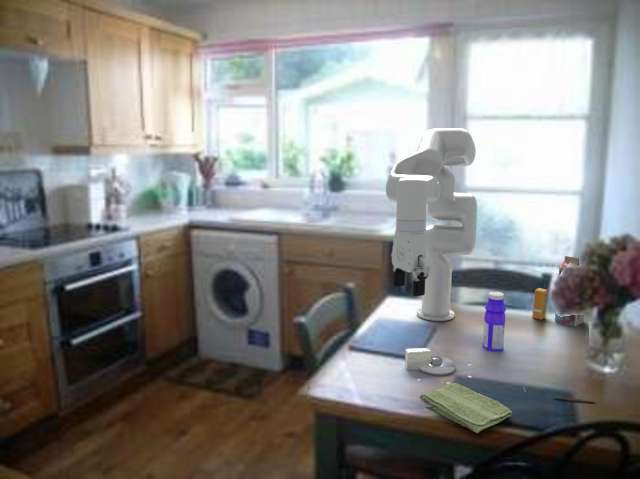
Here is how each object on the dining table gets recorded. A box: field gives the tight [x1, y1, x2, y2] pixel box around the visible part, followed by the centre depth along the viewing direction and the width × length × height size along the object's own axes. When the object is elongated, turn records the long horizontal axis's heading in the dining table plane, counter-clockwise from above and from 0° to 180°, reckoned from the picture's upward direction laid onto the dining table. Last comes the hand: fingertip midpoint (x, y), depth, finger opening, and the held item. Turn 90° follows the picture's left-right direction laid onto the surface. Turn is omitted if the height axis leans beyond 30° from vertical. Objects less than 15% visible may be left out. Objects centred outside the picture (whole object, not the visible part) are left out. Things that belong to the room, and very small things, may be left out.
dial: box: [404, 347, 456, 376], centre depth 140 cm, size 13×10×5 cm
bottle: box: [482, 291, 507, 353], centre depth 153 cm, size 7×6×17 cm
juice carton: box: [554, 255, 585, 327], centre depth 176 cm, size 7×7×22 cm
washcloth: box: [419, 382, 513, 434], centre depth 122 cm, size 13×18×3 cm
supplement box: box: [531, 287, 549, 321], centre depth 182 cm, size 3×3×10 cm
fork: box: [523, 386, 597, 404], centre depth 127 cm, size 3×16×2 cm, turn 74°
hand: (408, 290), depth 141 cm, fingers open, 9 cm apart
